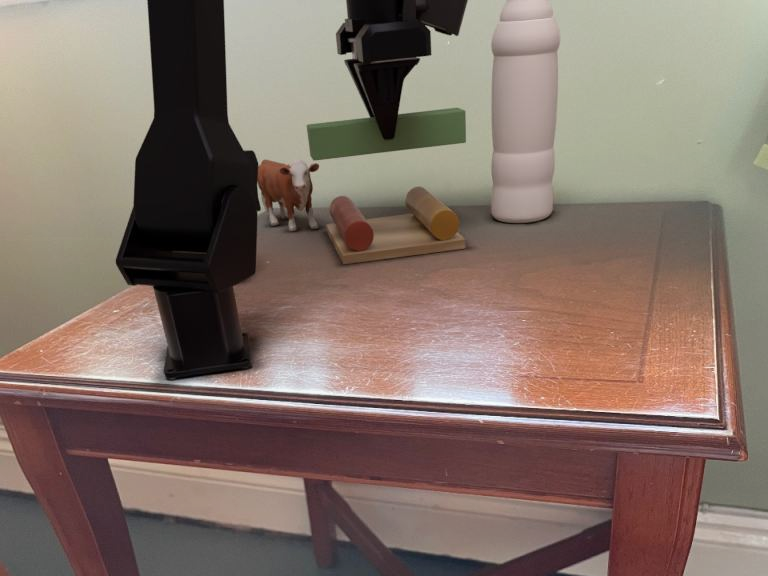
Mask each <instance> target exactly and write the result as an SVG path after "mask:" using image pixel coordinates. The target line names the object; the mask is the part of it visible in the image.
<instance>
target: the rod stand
mask: <svg viewBox="0 0 768 576" xmlns="http://www.w3.org/2000/svg"><path fill="white" fill-rule="evenodd" d="M405 206H406V208H407V210H408V211H409V212H410V213H405V214H399V215H391V216H390V215H389V216H381V217H373V218H366V217H364V215H363V214H362V212H361V211H360V209H359V207H358V206H357V205H356V204H355V202H354V201H353V200H352V199H351V198H350V197H348V196H346V195H339V196H337V197H335V198H334V199H333V200H332V201H331V202H330V205H329V215H330V217H331V219H332V221H333V223H327V224H326V233H327V236H328V238H329V239H330V242H331V243H332V245H333V247H334V249H335V250H336V253H337V255H338V257H339V258H340V259H339V260H340V261H341V262H342V264H343V265H350V264H358V263H367V262H374V261H382V260H388V259H389V260H390V259H397V258H405V257H411V256H419V255H427V254H434V253H442V252H443V253H444V252H450V251H458V250H465V249H466V238H465V237H464V236H462V235H461V234H460V233H459V229H460V219H459V217H458V215H457V214H456V213H455V212H454V211H453V210H452V209H451V208H449V207H448V206H447V205H446V204H444V203H443V201H441V200H440V199H438V197H436V196H435V195H434V194H432V193H431V192H430V191H429V190H428V189H426V188H425V187H423V186H414V187H413V188H411V189H410V190H409V191H408V192H407V194H406V196H405Z"/></svg>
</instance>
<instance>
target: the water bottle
mask: <svg viewBox="0 0 768 576" xmlns="http://www.w3.org/2000/svg"><path fill="white" fill-rule="evenodd" d="M560 31H561V30H560V28H559V25H558V22H557V19H556V18H555V17H554V11H553V7H552V5H551V3H550V1H549V0H506V1H505V3H504V5H503V7H502V8H501V11H500V14H499V21H498V22H497V24H496V26H495V29H494V31H493V34H492V36H491V37H492V38H491V46H490V47H491V52H492V55H493V60H492V73H491V136H492V148H493V150H492V154H491V167H490V168H491V179H492V187H491V197H490V198H491V199H490V200H491V201H490V209H491V210H490V213H491V215H492V217H493V218H494V219H495V220H497V221H499V222H503V223H508V224H509V223H510V224H525V223H534V222H539V221H542V220H545V219H546V218H548V217H549V216H550V215H551V214H552V213H553V209H554V185H553V180H554V174H555V165H556V162H555V161H556V157H555V156H556V155H555V148H554V143H555V139H556V138H555V136H556V130H557V129H556V128H557V117H558V116H557V115H558V113H557V111H558V97H559V96H558V95H559V93H558V91H559V57H558V56H559V55H558V50H559V48H560V45H561V32H560Z"/></svg>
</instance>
